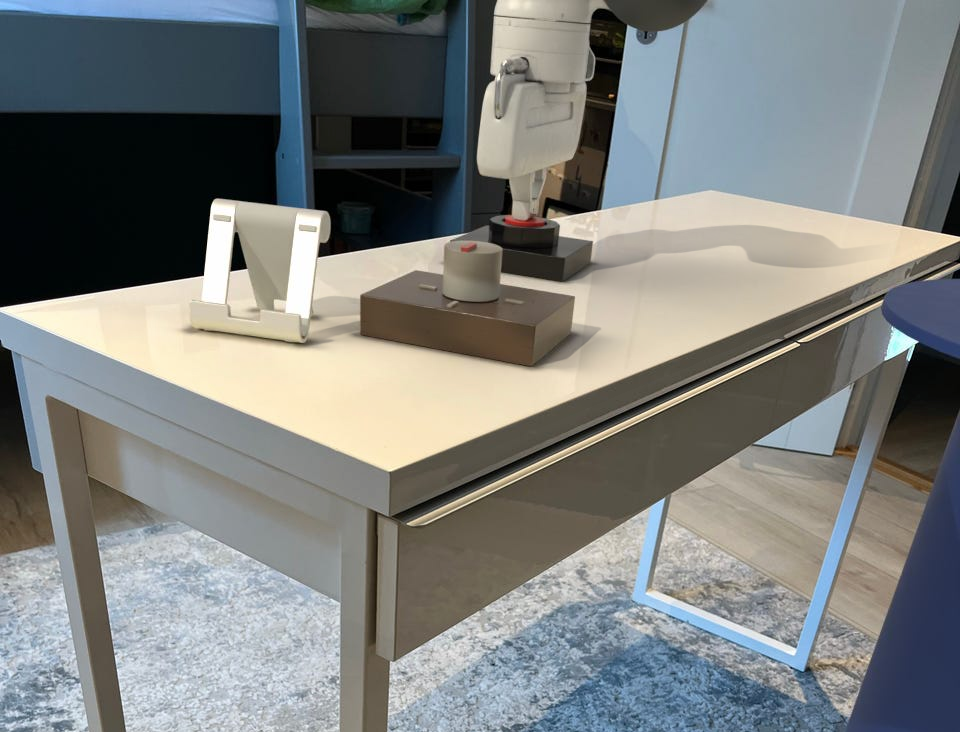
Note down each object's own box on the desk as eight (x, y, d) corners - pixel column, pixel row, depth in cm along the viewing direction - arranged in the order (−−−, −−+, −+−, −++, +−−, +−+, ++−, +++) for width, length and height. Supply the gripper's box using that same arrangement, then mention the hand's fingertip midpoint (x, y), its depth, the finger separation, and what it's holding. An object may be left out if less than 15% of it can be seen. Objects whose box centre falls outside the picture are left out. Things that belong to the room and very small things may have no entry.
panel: (571, 334, 78) (575, 293, 76) (531, 366, 70) (535, 322, 68) (414, 306, 81) (415, 267, 80) (359, 334, 73) (359, 292, 72)
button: (548, 237, 98) (550, 218, 97) (535, 243, 95) (537, 224, 94) (511, 231, 99) (513, 213, 98) (498, 237, 96) (499, 219, 95)
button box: (590, 263, 100) (595, 222, 98) (562, 281, 93) (567, 237, 90) (484, 246, 104) (487, 207, 101) (448, 263, 96) (450, 220, 94)
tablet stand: (190, 331, 71) (178, 210, 66) (236, 306, 78) (228, 194, 73) (299, 346, 70) (295, 224, 65) (337, 320, 76) (335, 206, 72)
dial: (453, 284, 76) (456, 233, 74) (506, 292, 75) (510, 241, 73) (433, 296, 72) (436, 243, 70) (488, 305, 71) (492, 251, 69)
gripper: (535, 62, 79) (519, 239, 87) (600, 59, 95) (582, 208, 103) (464, 55, 81) (455, 229, 89) (540, 53, 97) (527, 200, 105)
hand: (524, 218), depth 96 cm, fingers closed, pressing on button
